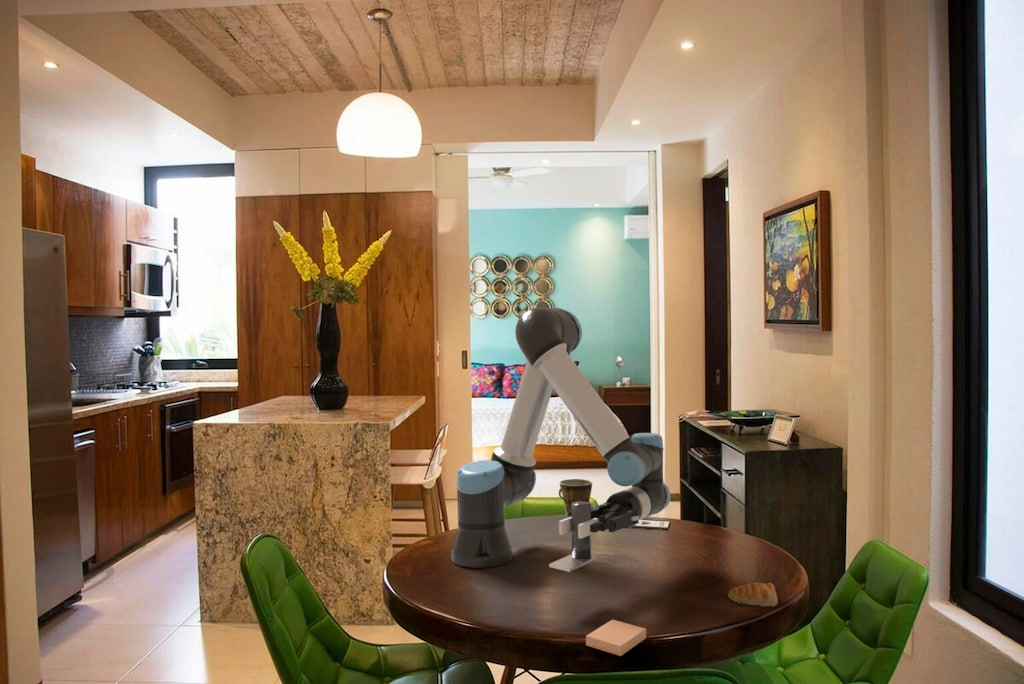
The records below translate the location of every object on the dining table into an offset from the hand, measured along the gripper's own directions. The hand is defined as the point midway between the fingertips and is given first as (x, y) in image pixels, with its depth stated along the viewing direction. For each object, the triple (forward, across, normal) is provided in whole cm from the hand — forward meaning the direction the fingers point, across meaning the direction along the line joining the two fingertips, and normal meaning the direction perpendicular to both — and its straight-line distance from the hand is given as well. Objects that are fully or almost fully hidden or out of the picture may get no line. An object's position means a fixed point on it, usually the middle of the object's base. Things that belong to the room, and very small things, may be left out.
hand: (570, 529), depth 142 cm
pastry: (-24, -29, -16) cm, 41 cm away
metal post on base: (-1, 0, -7) cm, 7 cm away
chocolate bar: (-62, +19, -16) cm, 67 cm away
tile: (+5, -16, -15) cm, 22 cm away
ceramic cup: (-60, +40, -16) cm, 74 cm away
